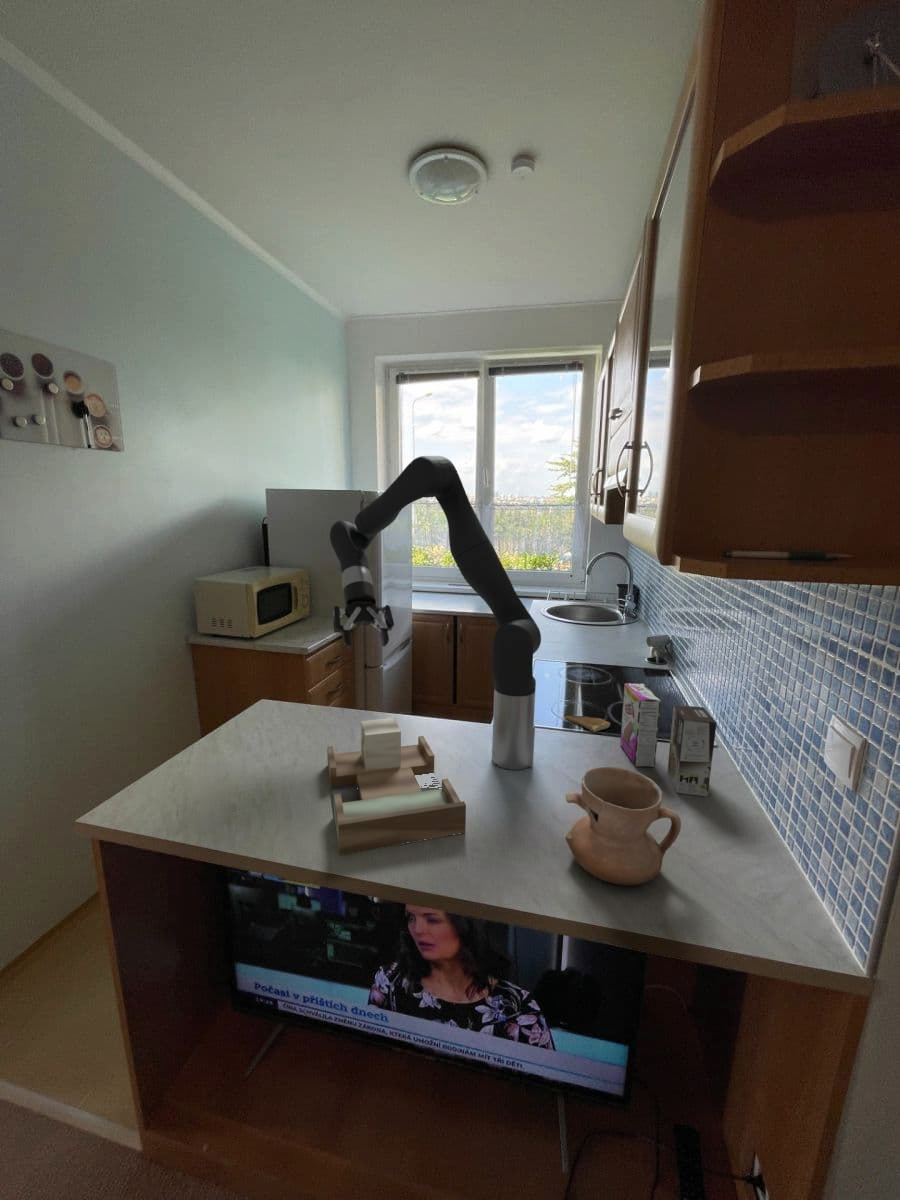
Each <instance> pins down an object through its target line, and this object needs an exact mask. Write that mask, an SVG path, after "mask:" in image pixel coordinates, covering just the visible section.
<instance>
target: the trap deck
mask: <svg viewBox="0 0 900 1200" xmlns="http://www.w3.org/2000/svg"><path fill="white" fill-rule="evenodd" d="M417 739H418V740H417V741H418V742H417V744H411V745H410V744H409V745H403V746H402V745H401V767H393V768H386V769H378V770H370V771H365V767H364V763H363V760H362V756H361V750H360V751H351V752H342V753H341V752H340V753H335V752H334V750H335V749H334V746H333V745H331V746H327V748H326V749H327V750H326V753H327V769H328V770H327V772H328V771H329V772H328V779H329V778H330V779H329V784H330V786H331V787H330V786H329V787H330V792H331V793H330V794H331V801H332V808H333V809H334V810H333V815H334V816H333V817H334V822H335V823H334V824H335V831H336V837H337V838H336V839H337V846H338V847H337V848H338V854H339V856H343V855H348V853H349V854H354V853H353V852H355V853H360V852H365V850H366V851H372V850H377V849H376V848H378V849H382V848H381V847H384V848H387V846H389V847H394V846H393V845H395V846H398V845H397V844H401V845H403V844H402V843H407V842H412V843H414V842H413V841H418V842H420V841H419V840H424V839H430V838H436V839H438V838H437V837H441V838H443V837H442V836H447V837H449V836H448V835H453V834H459V833H464V834H466V821H467V820H466V819H467V818H466V817H467V804H466V803H465V801H461V799H460V798H459V796H458V794H457V792H456V791H455V788H454V787H453V785H452V784H451V782H450V780H449V779H448V778H442V779H441V782H440V781H439V780H438V781H432V782H439V783H433V784H440V785H441V787H438V788H429V787H435V786H438V785H433V784H432V785H429V787H427V788H420V786H419V784H418V782H417V780H416V778H415V775H422V774H429V773H434V774H435V754H434V752H433V750H432V748H431V747H430V745H429V743H428V742H427V740H426V738H425V737H424V735H421V736H418V738H417ZM431 778H435V777H431ZM437 779H438V778H437ZM437 779H433V780H437ZM425 784H426V783H425ZM424 786H427V785H424ZM421 787H422V786H421ZM357 788H358V789H357ZM439 788H442V789H439ZM459 835H460V834H459ZM453 836H454V835H453ZM430 840H431V839H430ZM424 841H425V840H424ZM407 844H408V843H407ZM371 849H372V850H371ZM359 851H360V852H359ZM342 854H343V855H342Z"/></svg>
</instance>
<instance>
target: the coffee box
mask: <svg viewBox="0 0 900 1200" xmlns="http://www.w3.org/2000/svg"><path fill="white" fill-rule="evenodd" d="M717 724H718V723H717V721H716V720H715V718H713V716H712V715H711V714H709V712H708V711H707V710H706V708H705V707H703V706H694V705H693V706H692V705H689V706H688V705H676V704H674V705H673V710H672V722H671V729H670V730H671V731H670V741H669V751H668V752H669V753H668V763H667V764H668V765H667V771H666V772H667V773H666V774H667V775H668V778H669V779H670V781H671V783H672V786H673V788H674V790H675V791H676V793H677V794H683V795H691V796H698V797H708V794H709V787H710V779H711V773H712V762H713V757H714V756H713V755H714V754H713V753H714V746H715V740H716V739H715V738H716V729H717Z"/></svg>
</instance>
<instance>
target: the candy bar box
mask: <svg viewBox="0 0 900 1200" xmlns="http://www.w3.org/2000/svg"><path fill="white" fill-rule="evenodd" d="M623 685H624V689H623V700H622V717H621V729H620V742H619V746H620V747H621V748H622V750H623V751H624V753H625V754H626V756H627V757H628V759H629V760H630V761H631V763H632V765H633V766H634V767H638V768H656V756H657V747H658V746H657V745H658V734H659V733H658V732H659V724H660V723H659V722H660V713H661V712H660V710H661V702H662V701H661V699H660V698H659V697H657V695H655V693H654V692H652V690H651V689H649V687H647V686H646V685H645V683H633V682H632V683H630V682H629V683H628V682H626V683H624V684H623Z"/></svg>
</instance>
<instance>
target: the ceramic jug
mask: <svg viewBox="0 0 900 1200" xmlns="http://www.w3.org/2000/svg"><path fill="white" fill-rule="evenodd" d="M581 791H582V792H581V793H578V792H574V791H573V792H572V791H571V792H567V793H565V794H564V795H565V801H566V803H567V804H571V803H572V804H576V805H577V806H578V807H580V808H581V809H583V810H584V811H585V812H587V815H586V816H584V817H582V818H580V819H579V820H576V822H575V823H574V825H573V826H572V828H571V830H570V831H568V832H567V834H566V835H565V840H566V843H567V846H568V847H569V849H570V851H571V853H572V856H573V858H574V859H575V861H576V862H577V863H578V864H579V865H580V866H581V867H582V868H583V869H584V870H585V871H586V872H588V873H589V874H591V875H592V876H594V877H595V878H598V879H599V880H602V881H604V882H607V883H610V884H615V885H620V886H636V885H637V886H638V885H642V884H645V883H648V882H650V881H652V880H653V879H654V878H655V877H656V876H657V875H658V874H659V873H660V871H661V869H662V866H663V859H664V856H665V854H666V852H667V851H668V850H669V848H671V847H672V845H673V844H674V842H675V841H676V840H677V838H678V837H679V835H680V832H681V827H682V821H681V817H680V816H679V814H678V813H677V812H676V811H675V810H674V809H671V808H670V807H669V808H668V807H664V806H663V807H661V805H662V802H663V792H662V789H661V788H660V786H659V785H658V784H657V783H656V782H655V781H654V780H653V779H651V778H649V777H647V776H646V775H644V774H642V773H639V772H637V771H633V770H632V769H628V768H623V767H619V766H610V765H609V766H598V767H594V768H590V769H588V770H587V771H585V772H584V773H583V775H582V778H581ZM665 818H666V819H669V820H670V821H671V823H670V824H671V825H670V828H669V830H668V832H667V834H666V835H665V837H663V839H662V840H661V842H659V843H658V841H657V839H656V838H655V837H654V836H653V834H651V833H650V832H649V831H648V829H649V828H650V826H651V825H652V823H654V822H655V821H657V820H660V819H665Z"/></svg>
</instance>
